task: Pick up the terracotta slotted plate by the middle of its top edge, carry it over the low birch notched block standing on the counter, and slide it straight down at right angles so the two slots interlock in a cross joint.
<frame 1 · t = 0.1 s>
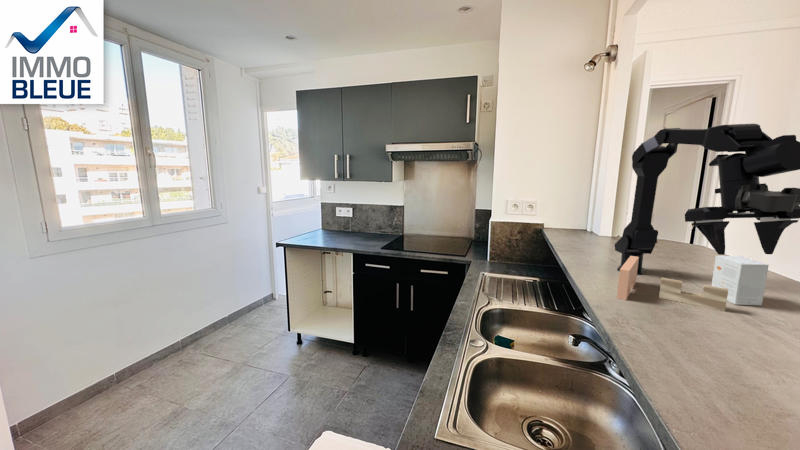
hand: (744, 254, 65), 15 cm above the worktop, tool pointing down, fingers open, 9 cm apart
small box: (734, 299, 79), on the worktop
terracotta plate: (627, 289, 86), on the worktop
birch notched block: (690, 302, 77), on the worktop
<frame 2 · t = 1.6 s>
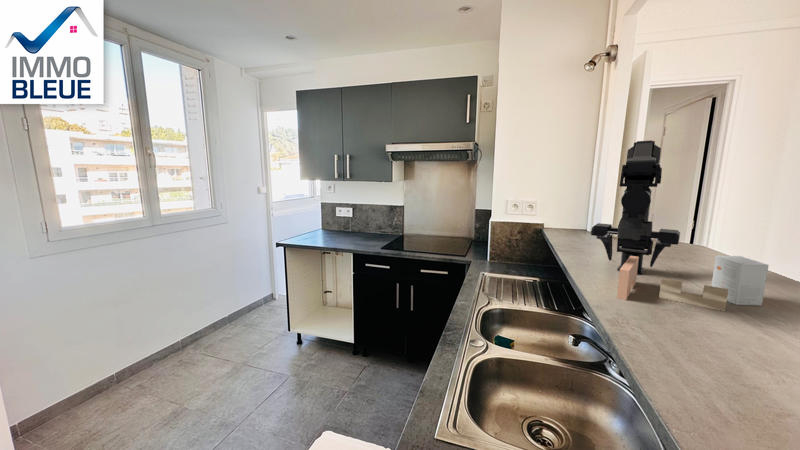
hand: (629, 263, 85), 8 cm above the worktop, tool pointing down, fingers open, 9 cm apart
nothing on the worktop moved.
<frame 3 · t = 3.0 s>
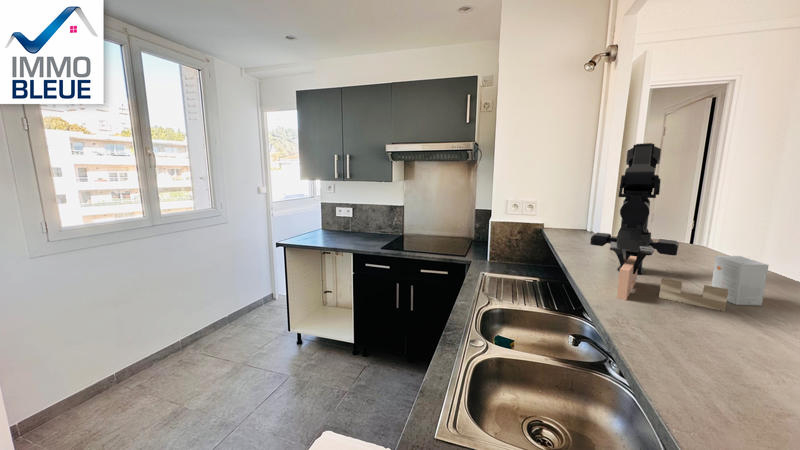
hand: (628, 272, 85), 5 cm above the worktop, tool pointing down, fingers closed on terracotta plate, 2 cm apart
terracotta plate: (627, 289, 86), on the worktop, touching gripper
everything else where it was.
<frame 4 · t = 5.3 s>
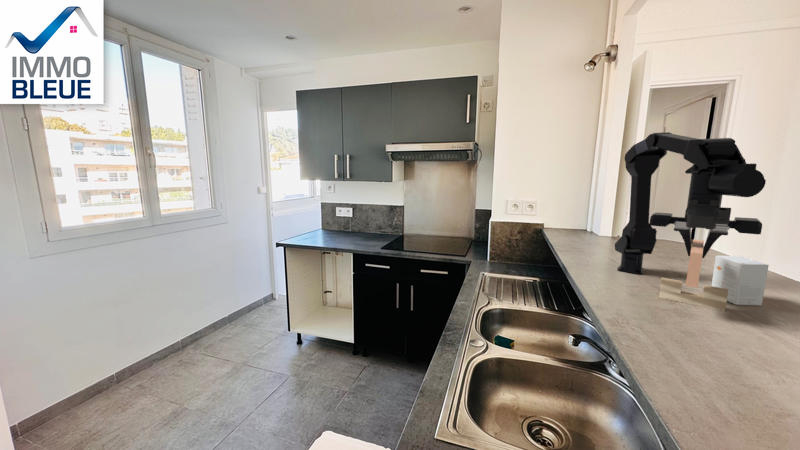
hand: (695, 256, 75), 12 cm above the worktop, tool pointing down, fingers closed on terracotta plate
terracotta plate: (692, 277, 76), point 7 cm above the worktop, touching gripper
everything else where it was.
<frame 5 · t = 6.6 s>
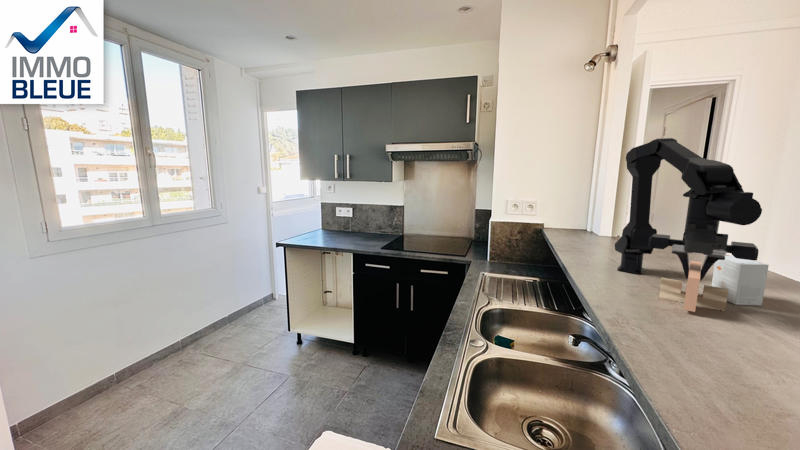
hand: (693, 279, 76), 6 cm above the worktop, tool pointing down, fingers closed on terracotta plate, 2 cm apart
terracotta plate: (690, 299, 77), point 1 cm above the worktop, touching gripper
everything else where it was.
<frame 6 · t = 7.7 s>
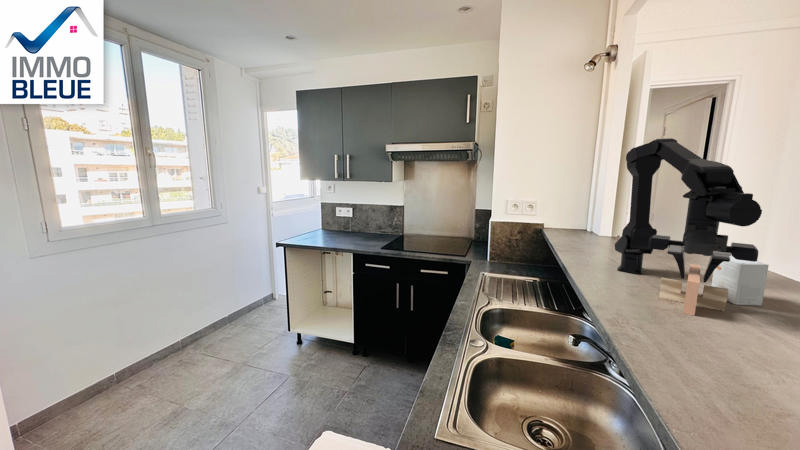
hand: (693, 280, 76), 6 cm above the worktop, tool pointing down, fingers open, 4 cm apart
terracotta plate: (689, 303, 77), on the worktop
everything else where it was.
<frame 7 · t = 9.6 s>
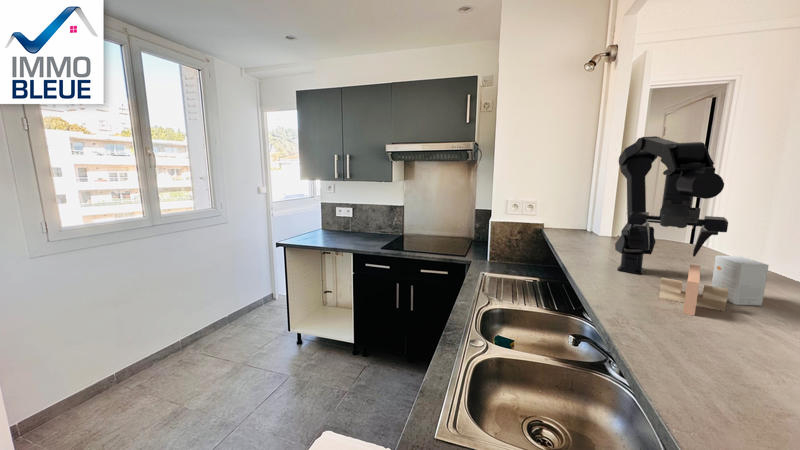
hand: (669, 252, 81), 12 cm above the worktop, tool pointing down, fingers open, 9 cm apart
nothing on the worktop moved.
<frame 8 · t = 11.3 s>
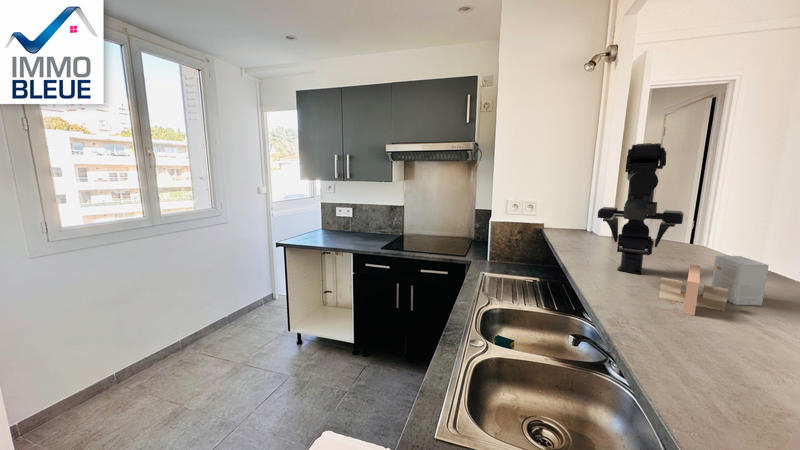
hand: (635, 244, 88), 12 cm above the worktop, tool pointing down, fingers open, 9 cm apart
nothing on the worktop moved.
at the end: terracotta plate 0.2 cm off-centre on the birch notched block, point 0.0 cm above the birch notched block's base; terracotta plate tilted 0°; the gripper is holding nothing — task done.
